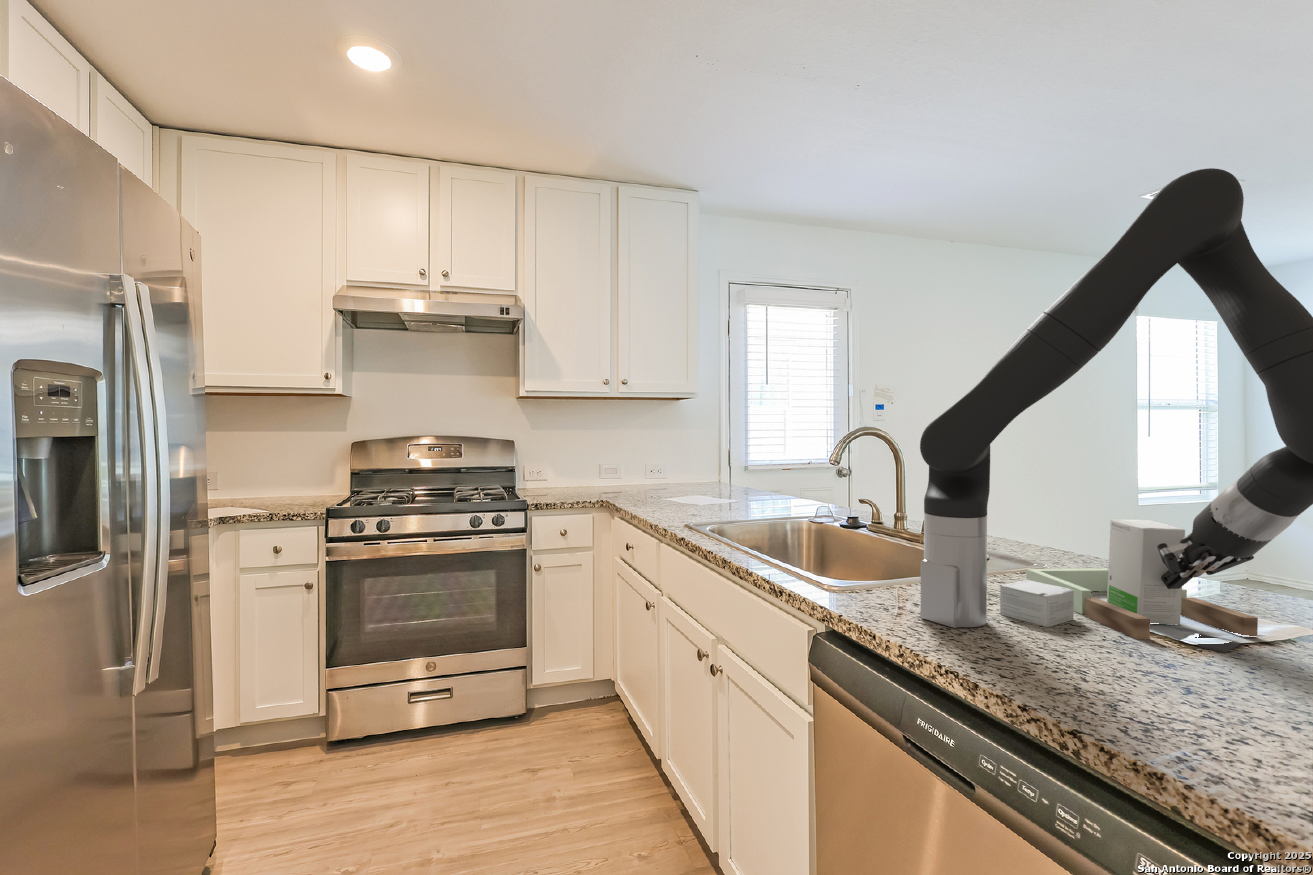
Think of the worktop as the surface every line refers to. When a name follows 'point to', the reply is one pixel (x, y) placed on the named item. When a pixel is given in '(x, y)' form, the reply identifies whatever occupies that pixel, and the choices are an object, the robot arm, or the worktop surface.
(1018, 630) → the worktop surface
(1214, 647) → the pit mat
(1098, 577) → the corral
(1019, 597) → the small box
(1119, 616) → the channel
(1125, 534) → the skincare box
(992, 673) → the worktop surface
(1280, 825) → the worktop surface
